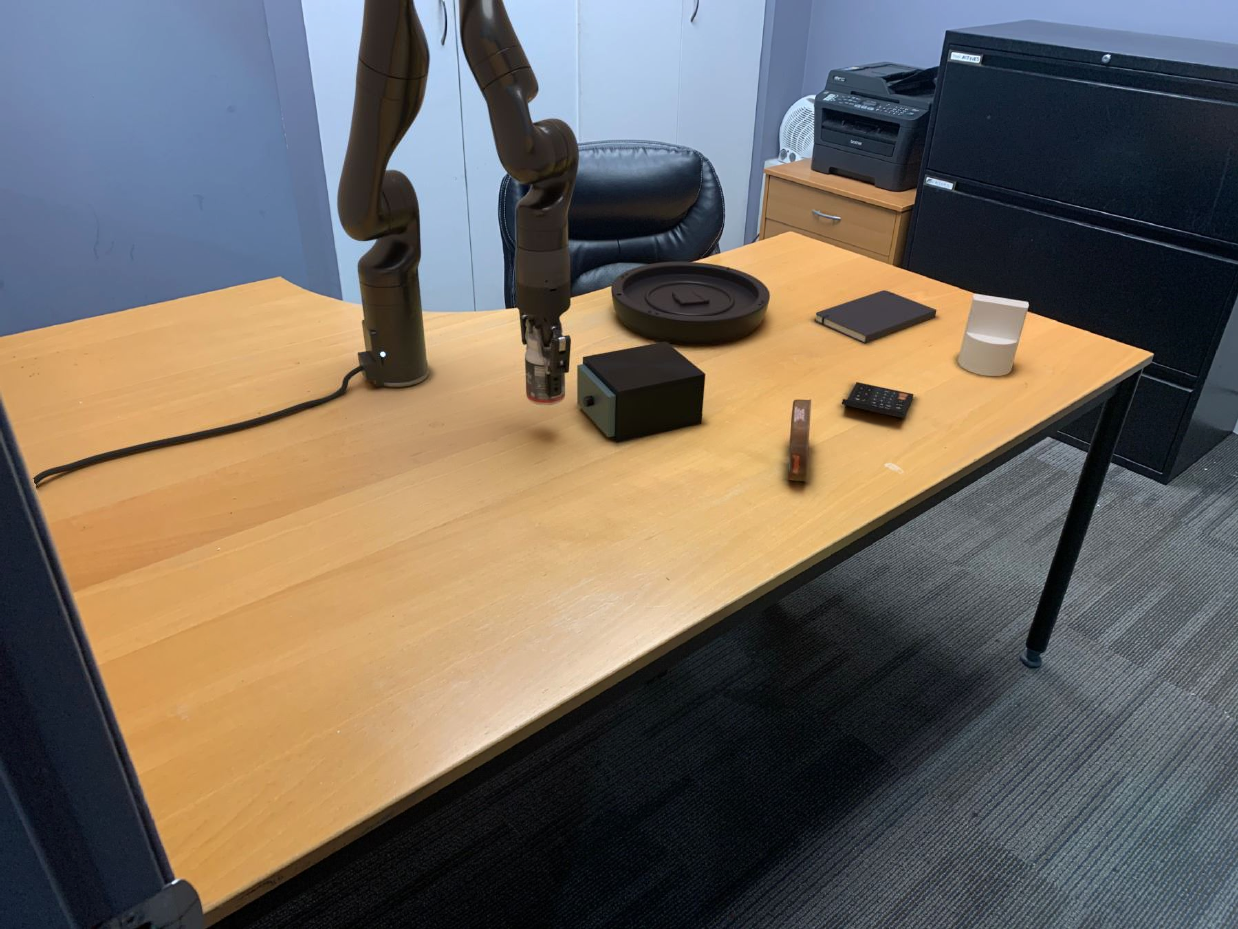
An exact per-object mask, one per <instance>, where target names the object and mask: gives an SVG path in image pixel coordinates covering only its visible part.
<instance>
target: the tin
mask: <svg viewBox="0 0 1238 929" xmlns="http://www.w3.org/2000/svg"><path fill="white" fill-rule="evenodd" d="M811 411H812V399H811V398H810V399H794V400H793V401H792V410H791V418H790V433H789V450H788V451H789V457H788V468H787V479H788V481H795V482H796V481H798V482H804V483H807V476H808V475H807V474H808V473H807V470H808V459H809V458H808V457H809V444H810V430H811V427H810V426H811Z"/></svg>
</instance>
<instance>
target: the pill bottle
mask: <svg viewBox="0 0 1238 929" xmlns="http://www.w3.org/2000/svg"><path fill="white" fill-rule="evenodd" d="M528 345H529V346H530V347H529V348H528V349H527V350H526V349H525V352H524V366H525V367H524V368H525V369H524V370H525V372H524V373H525V396H526V398H527V400H528V401H529V402H530V403H532V404H534V405H536V406H537V405H538V406H543V407H544V406H545V407H546V406H547V407H548V406H553V405H554V406H555V405H557V404H560V403H561V402H563V401H564V399H565V396H566V373H562V374H561V384H562V392H561V394H560V395H558V396H553V397H548V396H547V395H546V392H545V367H544V361H543V358H541V357H540V356H539V352H538V347H537V341H536V338H535V337H534V334H533V333H532V334H528ZM544 350H545V351H551V347H544ZM549 361H550V357H549Z"/></svg>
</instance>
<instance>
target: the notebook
mask: <svg viewBox="0 0 1238 929" xmlns="http://www.w3.org/2000/svg"><path fill="white" fill-rule="evenodd" d="M937 311H938V310H937V309H935V308H934V307H931V306H928V305H926V304H923V303H920V302H917V301H915V300H912V299H910V298H907V297H904V296H902V295H899V294H897V293H895V292H891V291H889V290H886V289H885V290H879V291H877V292H873V293H870V294H867V295H864V296H862V297H858V298H855V299H852V300H849V301H846V302H843V303H840V304H838V305H835V306H831V307H829V308H825V309H823V310H820V311H817V312H815V315H816V318H815V319H814V321H815V323H818V324H820V325H822V326H825V327H827V328H829V329H831V330H834V331H836V332H837V333H838V332H839V333H841V334H843V335H845V336H847V337H850V338H851V339H855V340H856V341H859V342H861V343H864V344H867V343H870V342H872V341H875V340H878V339H880V338H883V337H885V336H888V335H890V334H893V333H896V332H899V331H901V330H904V329H907V328H910V327H912V326H915V325H917V324H920V323H923V322H925V321H928V320H931V319H934V318H936V315H937Z"/></svg>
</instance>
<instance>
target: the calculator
mask: <svg viewBox="0 0 1238 929" xmlns="http://www.w3.org/2000/svg"><path fill="white" fill-rule="evenodd" d="M913 399H914V393H910V392H905V391H900V390H897V389H892V388H887V387H882V386H877V385H872V384H869V383H863V382H860V381H859V382H858V381H856V382H855V384H854V386H853V387H852V389H851V391H850V393H849V395H848V397H847V399H846V398H842V401H841V405H843V406H847V407H852V408H855V409H859V410H860V409H861V410H865V411H870V412H874V413H879V414H882V415H887V416H893V417H896V418H900V419H905V418H906V416H907V414H908V411H909V408H910V406H911V404H912V401H913Z"/></svg>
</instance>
